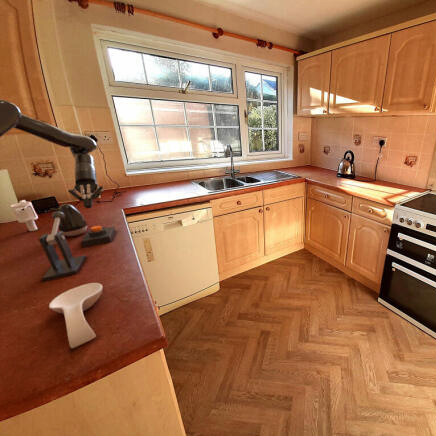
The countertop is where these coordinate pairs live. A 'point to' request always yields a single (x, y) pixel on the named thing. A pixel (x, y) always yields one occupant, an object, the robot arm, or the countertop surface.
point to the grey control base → (98, 236)
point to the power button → (96, 228)
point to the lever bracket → (59, 266)
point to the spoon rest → (77, 311)
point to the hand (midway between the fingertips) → (88, 207)
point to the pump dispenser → (71, 221)
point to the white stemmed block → (25, 214)
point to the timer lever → (55, 227)
